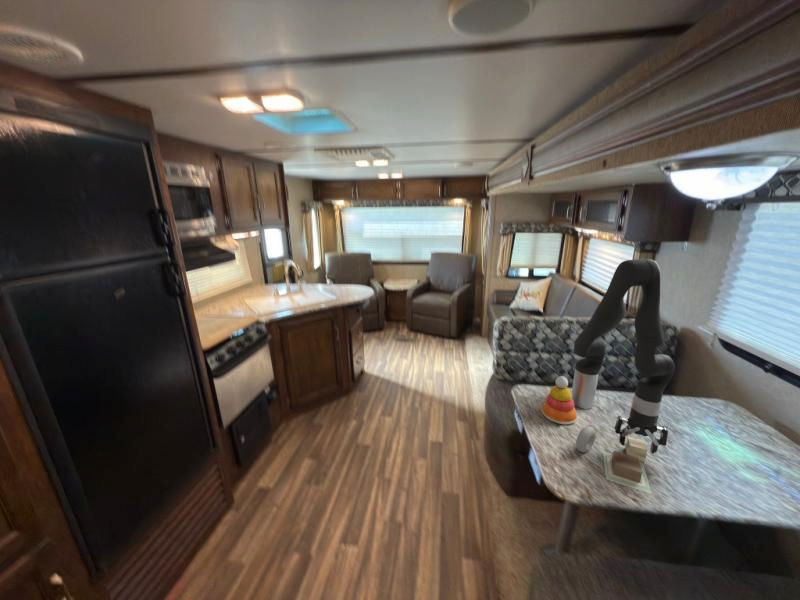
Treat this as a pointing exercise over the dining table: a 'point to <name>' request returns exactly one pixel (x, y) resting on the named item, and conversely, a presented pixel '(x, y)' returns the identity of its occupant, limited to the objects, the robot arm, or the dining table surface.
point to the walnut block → (626, 466)
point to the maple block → (636, 448)
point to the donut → (585, 439)
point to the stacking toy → (560, 404)
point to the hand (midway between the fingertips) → (636, 447)
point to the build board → (610, 475)
